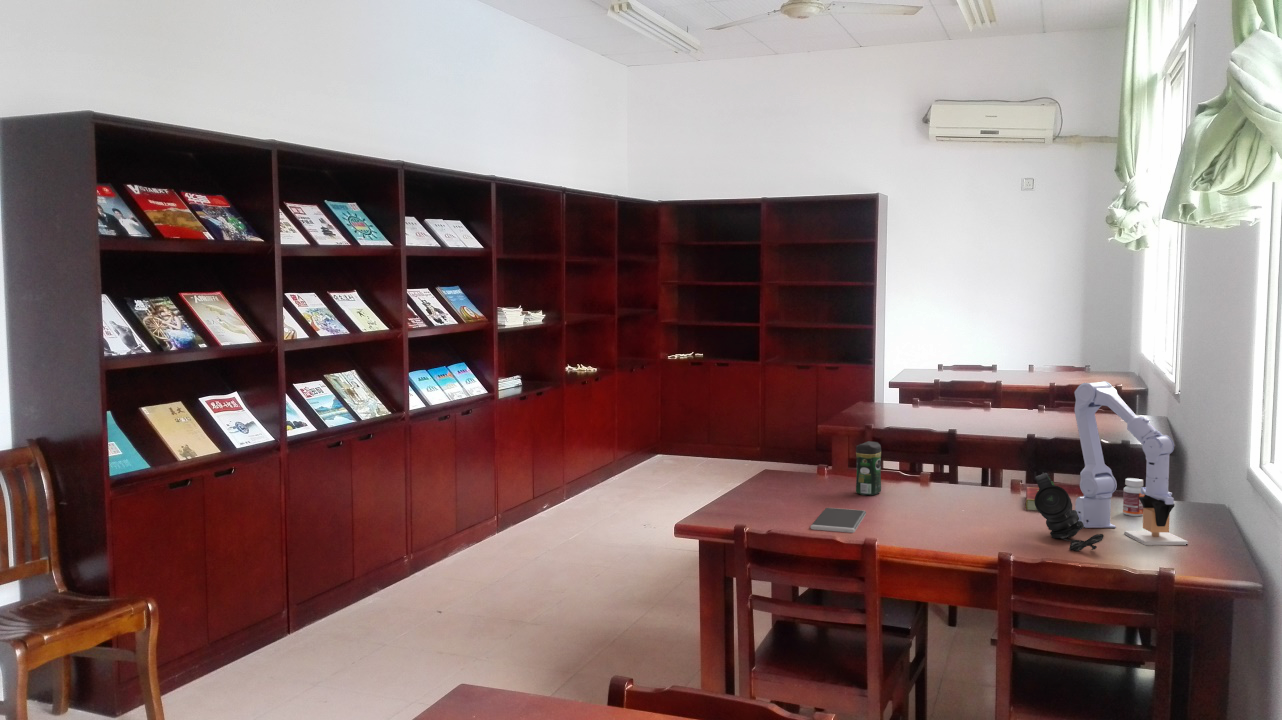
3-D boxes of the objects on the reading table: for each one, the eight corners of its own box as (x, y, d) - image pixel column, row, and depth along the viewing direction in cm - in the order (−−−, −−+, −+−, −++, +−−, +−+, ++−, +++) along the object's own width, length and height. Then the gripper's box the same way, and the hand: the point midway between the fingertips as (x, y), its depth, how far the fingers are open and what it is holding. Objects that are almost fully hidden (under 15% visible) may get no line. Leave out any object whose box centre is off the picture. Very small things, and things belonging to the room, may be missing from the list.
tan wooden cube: (1151, 532, 272) (1152, 511, 271) (1142, 528, 277) (1143, 507, 276) (1169, 532, 272) (1169, 511, 271) (1159, 528, 277) (1160, 507, 276)
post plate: (1144, 544, 269) (1145, 531, 268) (1124, 534, 281) (1124, 520, 280) (1187, 544, 268) (1188, 531, 268) (1165, 534, 280) (1165, 520, 280)
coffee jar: (863, 489, 346) (863, 439, 345) (883, 492, 341) (884, 441, 340) (852, 494, 338) (852, 442, 337) (873, 497, 334) (874, 444, 332)
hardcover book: (1025, 510, 313) (1026, 498, 313) (1026, 498, 332) (1026, 486, 332) (1065, 513, 309) (1065, 501, 308) (1063, 500, 328) (1063, 488, 328)
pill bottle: (1143, 517, 301) (1144, 482, 300) (1121, 515, 304) (1122, 480, 304) (1145, 513, 306) (1146, 479, 305) (1124, 511, 310) (1125, 477, 309)
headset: (1067, 576, 268) (1042, 508, 292) (1116, 561, 263) (1086, 493, 287) (1044, 534, 261) (1020, 468, 285) (1094, 517, 256) (1065, 451, 280)
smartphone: (866, 515, 310) (866, 510, 309) (854, 534, 284) (854, 528, 284) (825, 512, 314) (825, 507, 314) (810, 530, 289) (810, 525, 289)
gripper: (1185, 482, 266) (1183, 529, 267) (1158, 472, 280) (1156, 517, 281) (1159, 482, 266) (1158, 529, 267) (1134, 472, 281) (1132, 517, 282)
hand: (1155, 523), depth 274 cm, fingers closed on tan wooden cube, 5 cm apart
